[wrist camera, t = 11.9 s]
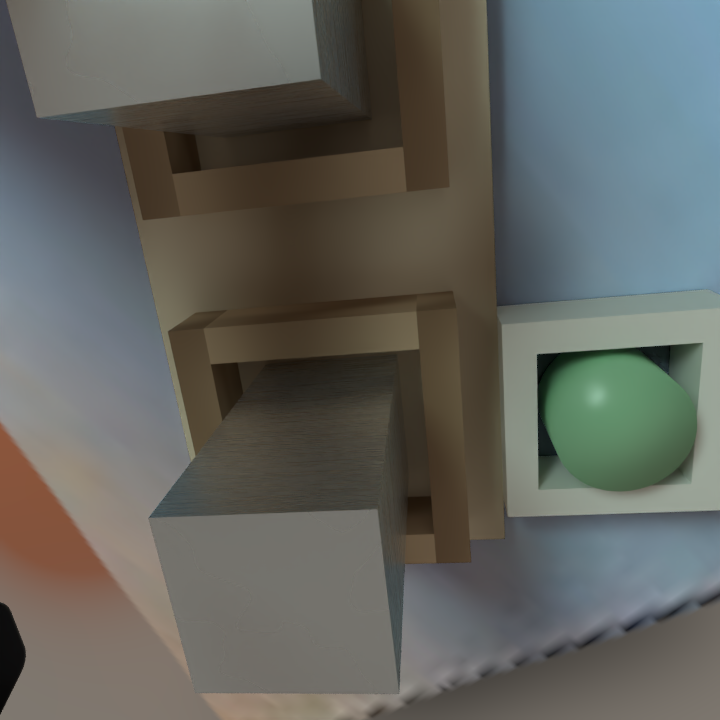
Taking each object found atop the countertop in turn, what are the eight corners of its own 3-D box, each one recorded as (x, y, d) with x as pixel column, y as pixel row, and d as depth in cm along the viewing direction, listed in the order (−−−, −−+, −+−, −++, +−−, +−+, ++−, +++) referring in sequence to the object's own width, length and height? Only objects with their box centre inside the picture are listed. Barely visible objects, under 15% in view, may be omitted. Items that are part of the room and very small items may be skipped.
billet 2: (397, 354, 17) (377, 509, 9) (408, 473, 18) (399, 694, 11) (266, 363, 18) (148, 518, 10) (286, 479, 19) (194, 692, 11)
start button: (663, 334, 17) (702, 363, 14) (656, 445, 18) (691, 488, 16) (536, 343, 17) (554, 373, 15) (537, 451, 18) (554, 494, 16)
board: (475, -168, 14) (489, -253, 11) (500, 520, 20) (514, 581, 17) (83, -94, 15) (4, -153, 12) (219, 529, 21) (188, 587, 18)
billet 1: (354, -62, 14) (272, -333, 6) (372, 119, 15) (321, 79, 7) (194, -35, 14) (-61, -253, 7) (224, 138, 15) (36, 117, 8)
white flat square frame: (707, 289, 16) (744, 306, 15) (691, 474, 18) (722, 510, 16) (493, 306, 17) (501, 324, 15) (499, 481, 19) (507, 517, 17)
